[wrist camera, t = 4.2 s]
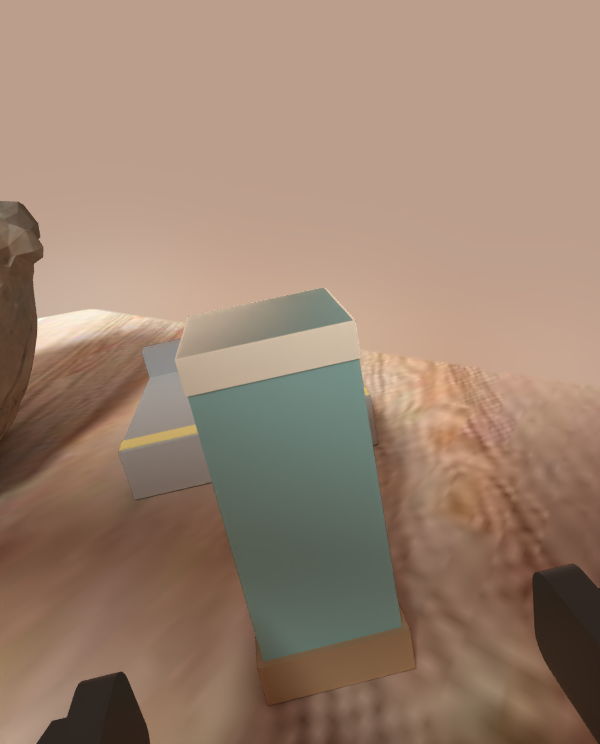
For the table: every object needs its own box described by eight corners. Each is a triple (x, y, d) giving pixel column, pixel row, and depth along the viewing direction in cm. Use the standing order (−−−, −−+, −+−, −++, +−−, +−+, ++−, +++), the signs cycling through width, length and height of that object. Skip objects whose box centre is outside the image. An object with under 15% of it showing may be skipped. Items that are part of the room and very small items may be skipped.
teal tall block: (268, 706, 17) (167, 362, 13) (259, 596, 21) (183, 316, 17) (415, 668, 17) (362, 320, 13) (377, 567, 22) (328, 285, 18)
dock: (134, 499, 30) (106, 418, 28) (162, 407, 42) (144, 346, 41) (378, 443, 31) (365, 361, 29) (335, 369, 43) (324, 307, 41)
